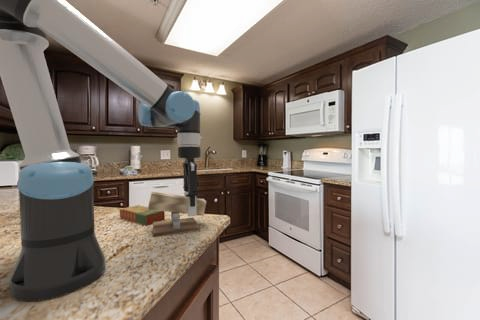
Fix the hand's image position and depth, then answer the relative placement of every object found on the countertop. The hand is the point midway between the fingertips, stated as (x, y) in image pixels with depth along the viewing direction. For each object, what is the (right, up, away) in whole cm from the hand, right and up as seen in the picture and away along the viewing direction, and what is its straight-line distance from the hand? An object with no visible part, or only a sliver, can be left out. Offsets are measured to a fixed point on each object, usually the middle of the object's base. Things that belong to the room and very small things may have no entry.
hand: (190, 212), depth 79 cm
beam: (-4, +1, -2) cm, 5 cm away
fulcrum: (-5, -5, -2) cm, 7 cm away
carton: (-20, -5, +8) cm, 22 cm away
